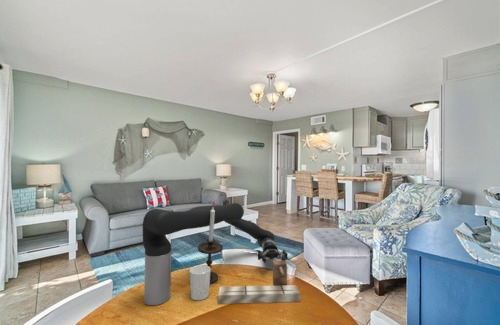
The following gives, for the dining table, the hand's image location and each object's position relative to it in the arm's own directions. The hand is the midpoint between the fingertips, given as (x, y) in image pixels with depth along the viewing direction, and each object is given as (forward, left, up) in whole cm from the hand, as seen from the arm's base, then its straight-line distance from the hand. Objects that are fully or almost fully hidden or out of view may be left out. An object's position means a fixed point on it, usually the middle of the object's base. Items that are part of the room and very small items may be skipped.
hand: (274, 260), depth 102 cm
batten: (+5, -18, -8) cm, 20 cm away
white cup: (-13, -32, -8) cm, 35 cm away
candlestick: (-21, -22, -7) cm, 31 cm away
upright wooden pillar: (+10, -9, -8) cm, 15 cm away
